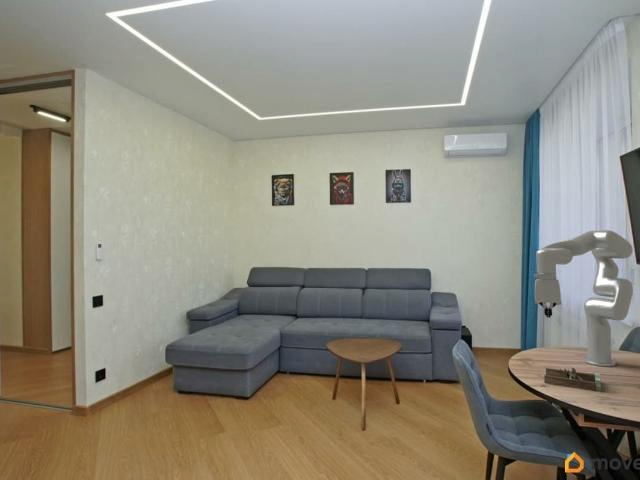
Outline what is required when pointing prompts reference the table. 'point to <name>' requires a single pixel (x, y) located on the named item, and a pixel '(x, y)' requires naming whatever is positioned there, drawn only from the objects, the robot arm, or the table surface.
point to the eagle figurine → (572, 374)
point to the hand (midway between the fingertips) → (548, 316)
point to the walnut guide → (561, 379)
